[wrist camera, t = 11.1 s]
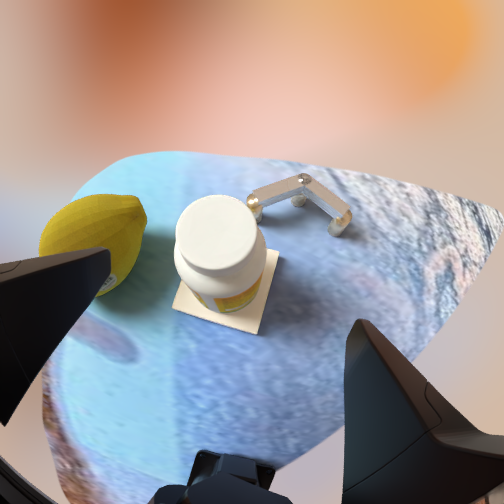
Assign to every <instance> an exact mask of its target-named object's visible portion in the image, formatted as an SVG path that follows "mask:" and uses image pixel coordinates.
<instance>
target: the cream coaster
mask: <svg viewBox="0 0 504 504" xmlns="http://www.w3.org/2000/svg"><path fill="white" fill-rule="evenodd" d="M266 249H267V248H266ZM278 256H279V252H278V251H275V250H271V249H267V256H266V263H265V267H264V271H263V274H262V279H261V283H260V287H259V290H258V292H257V295H256V296H255V298H254V299H253V301H252V302H251V303H250V304H249V305H248V306H246V307H245V308H243V309H241V310H239V311H237V312H233V313H227V314H224V313H217V312H214V311H211V310H209V309H207V308H206V307H204V306H203V305H202V304H201V303H200V302H199V301H198V300H197V298H196V297H195V296H194V295H193V293H192V292H191V291H190V289H189V288H188V287H187V285H186V284H185V283H184V281H183V280H181V282H180V285H179V288H178V291H177V294H176V296H175V299H174V302H173V305H172V308H173V309H174V310H177V311H180V312H183V313H186V314H189V315H192V316H195V317H198V318H201V319H204V320H207V321H210V322H214V323H217V324H220V325H223V326H227V327H230V328H233V329H237V330H240V331H244V332H247V333H251V334H254V335H257V332H258V328H259V325H260V321H261V318H262V314H263V311H264V307H265V304H266V300H267V296H268V293H269V289H270V285H271V282H272V278H273V274H274V271H275V267H276V263H277V259H278Z"/></svg>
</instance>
